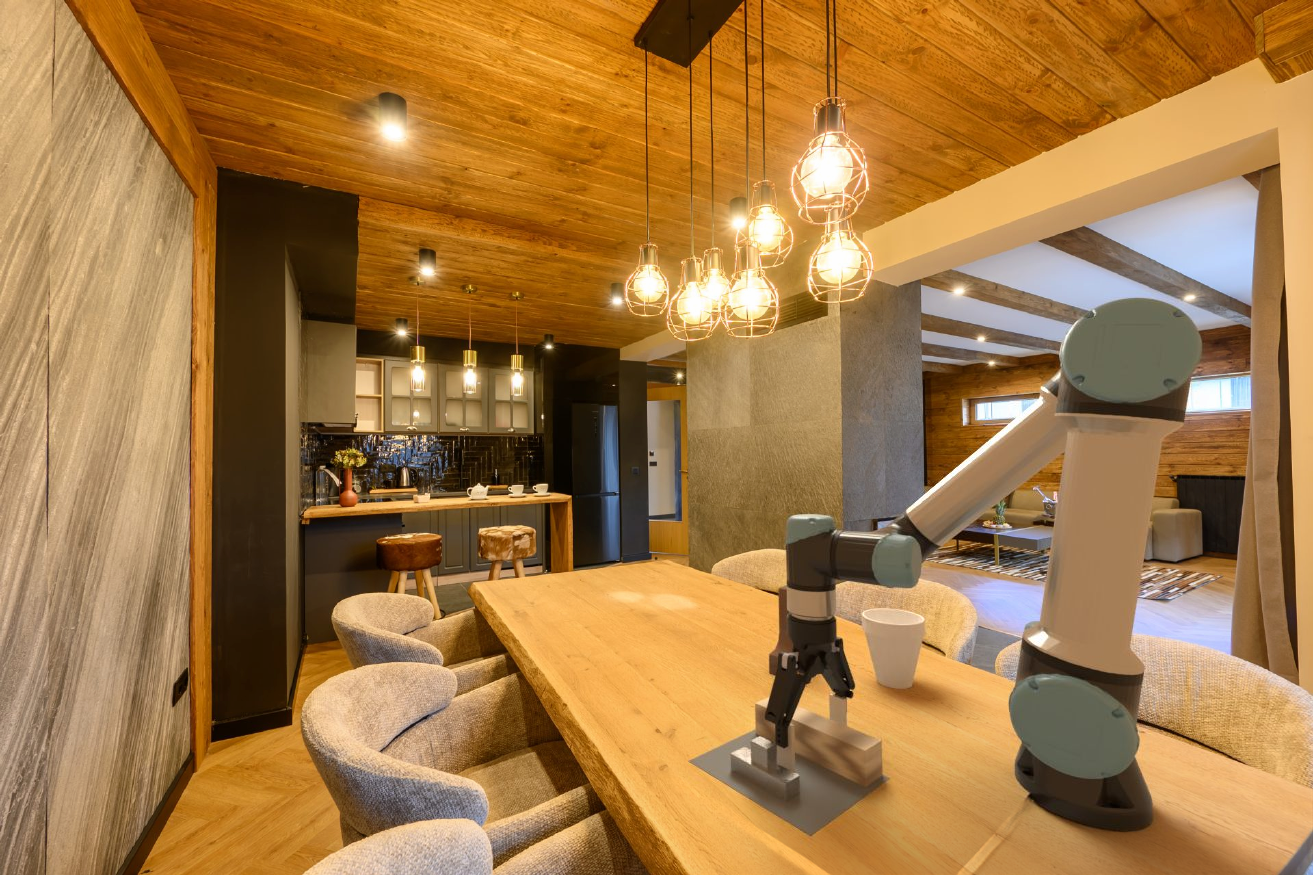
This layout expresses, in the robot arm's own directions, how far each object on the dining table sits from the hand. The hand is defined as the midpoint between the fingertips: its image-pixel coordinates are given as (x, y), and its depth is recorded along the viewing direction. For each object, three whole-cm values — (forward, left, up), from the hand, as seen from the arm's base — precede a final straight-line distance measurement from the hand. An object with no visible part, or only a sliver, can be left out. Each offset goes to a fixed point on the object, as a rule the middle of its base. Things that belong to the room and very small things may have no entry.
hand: (813, 751), depth 87 cm
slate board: (0, +7, -1) cm, 7 cm away
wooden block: (+25, -26, -1) cm, 36 cm away
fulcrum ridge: (0, +12, -1) cm, 12 cm away
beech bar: (0, 0, 0) cm, 0 cm away
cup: (+7, -38, -1) cm, 39 cm away
